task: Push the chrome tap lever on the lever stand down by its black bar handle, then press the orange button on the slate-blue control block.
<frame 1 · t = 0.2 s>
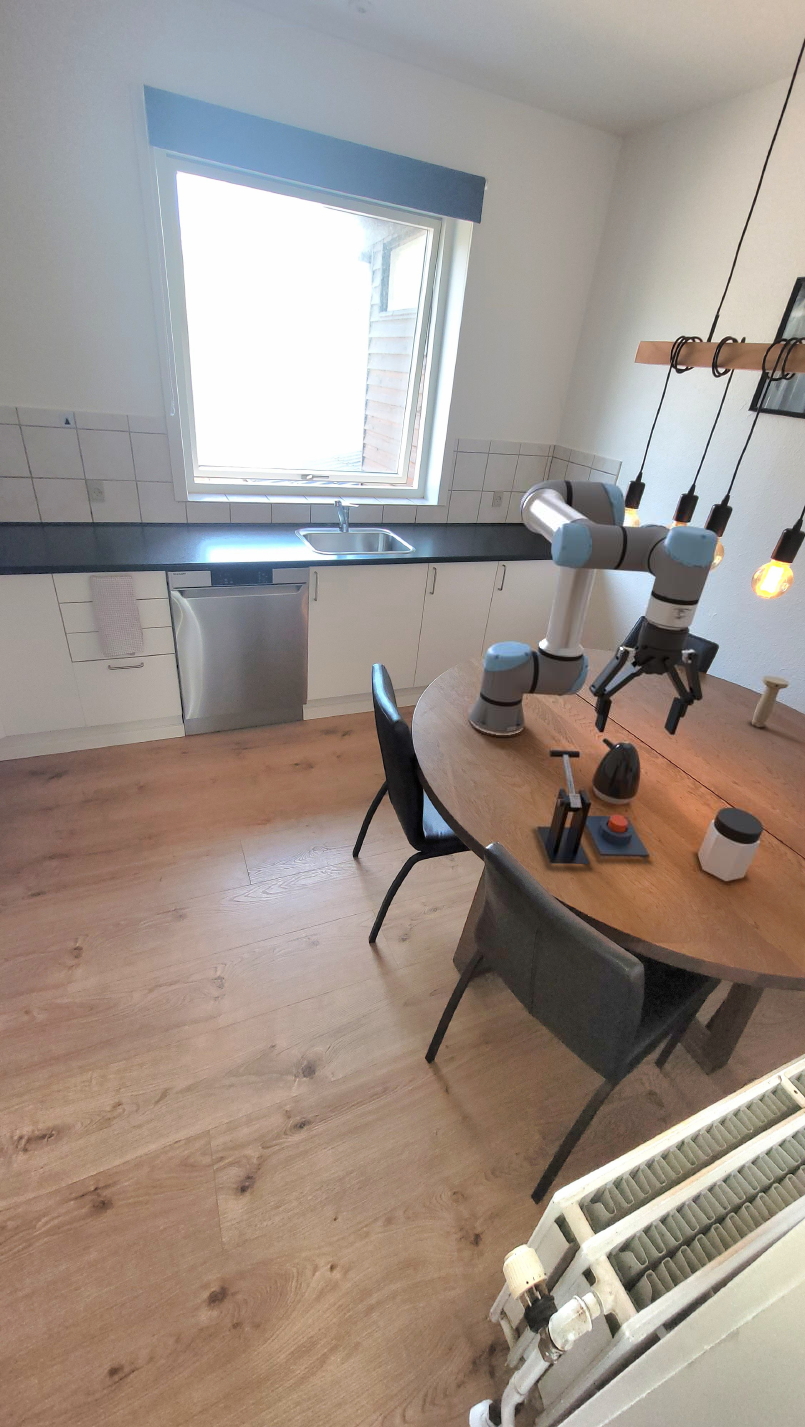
hand: (634, 730, 110), 28 cm above the table, tool pointing down, fingers open, 13 cm apart
handle: (756, 725, 175), on the table
button block: (612, 840, 124), on the table
button: (617, 824, 122), point 5 cm above the table, slide at 0.1 cm
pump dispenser: (610, 798, 138), on the table
lever stand: (561, 849, 121), on the table
jar: (719, 867, 120), on the table
tap lever: (569, 779, 118), point 14 cm above the table, hinge at 28.0°
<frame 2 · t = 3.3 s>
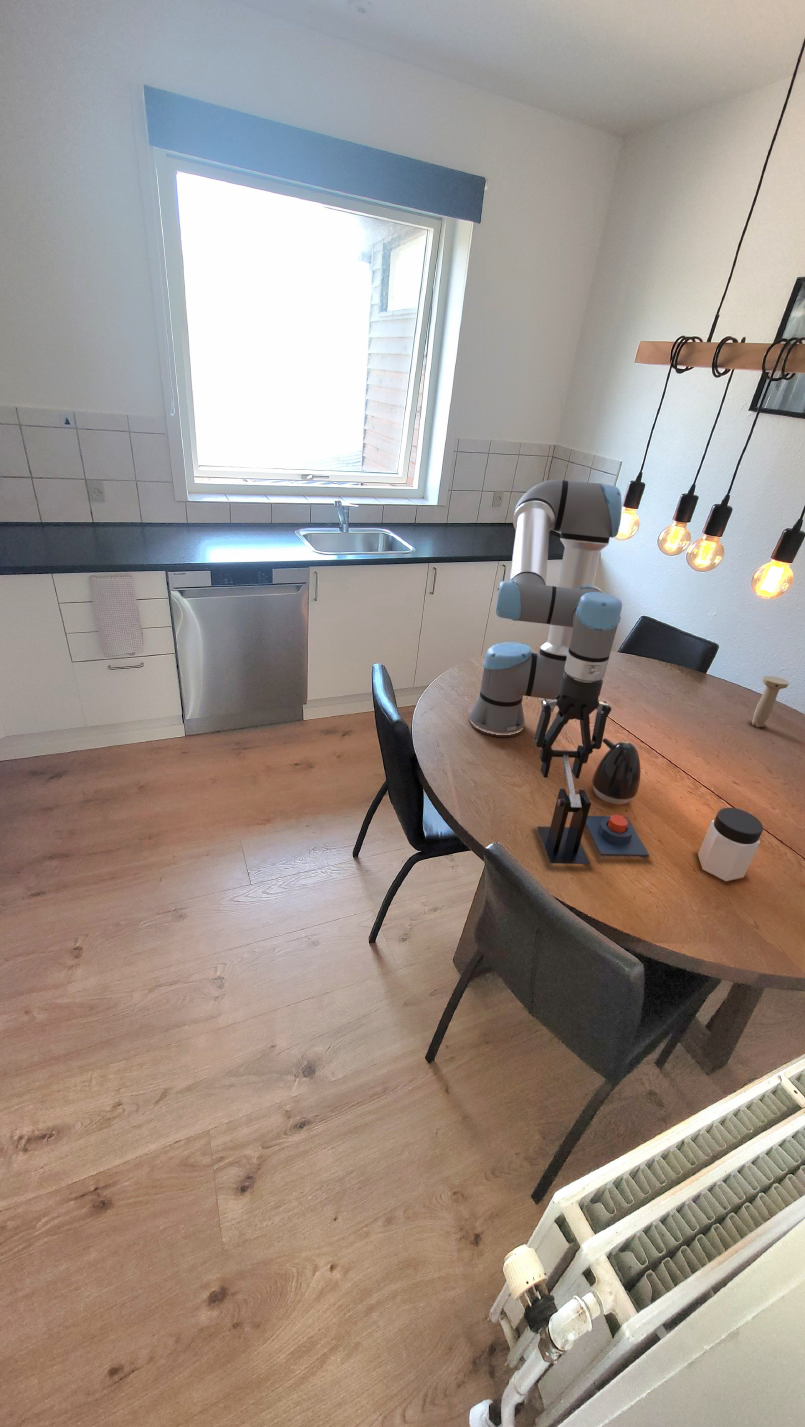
hand: (559, 774, 123), 12 cm above the table, tool pointing down, fingers closed on tap lever, 6 cm apart
tap lever: (569, 779, 118), point 14 cm above the table, hinge at 28.0°, touching gripper
everything else where it was.
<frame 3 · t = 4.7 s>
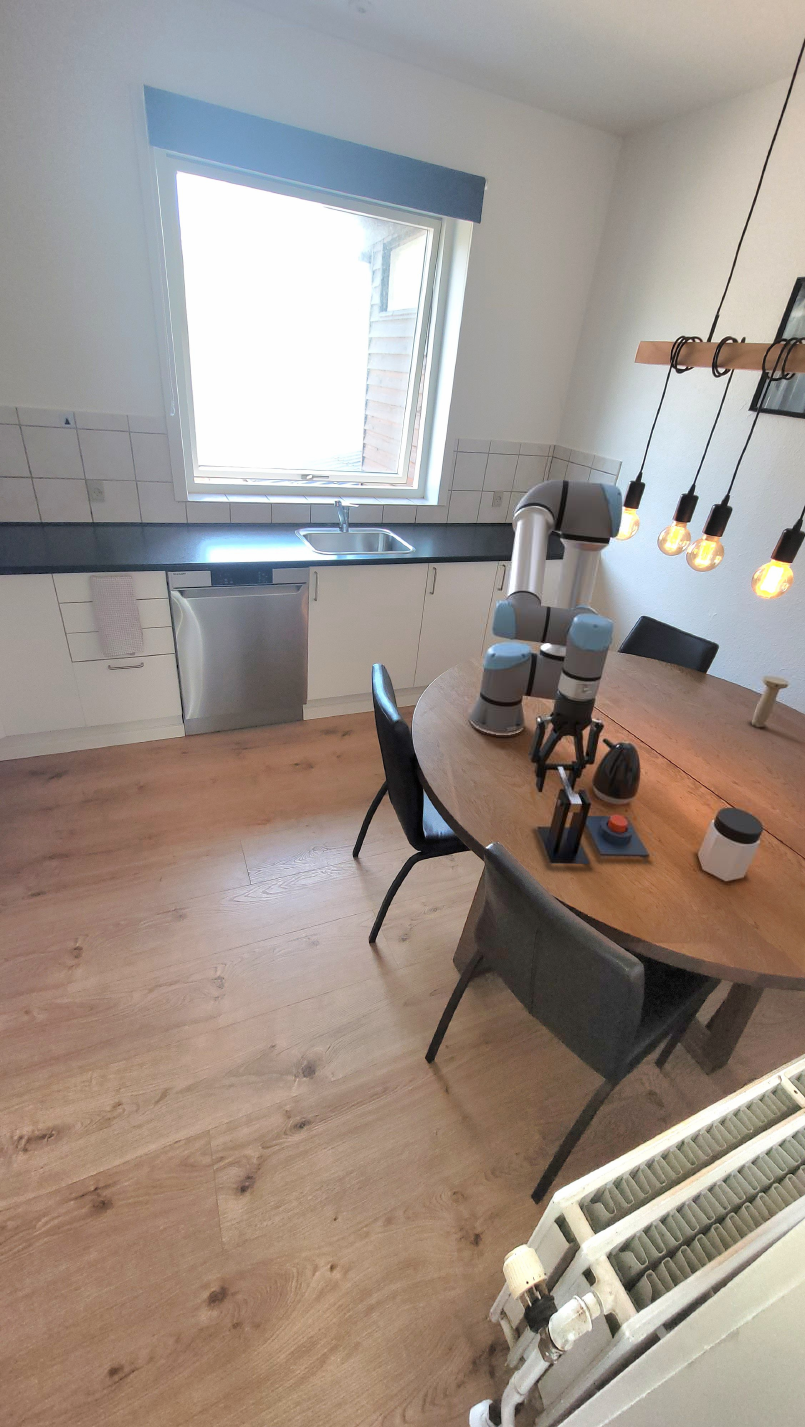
hand: (554, 788, 127), 8 cm above the table, tool pointing down, fingers closed on tap lever, 6 cm apart
tap lever: (566, 785, 119), point 12 cm above the table, hinge at 5.3°, touching gripper
everything else where it was.
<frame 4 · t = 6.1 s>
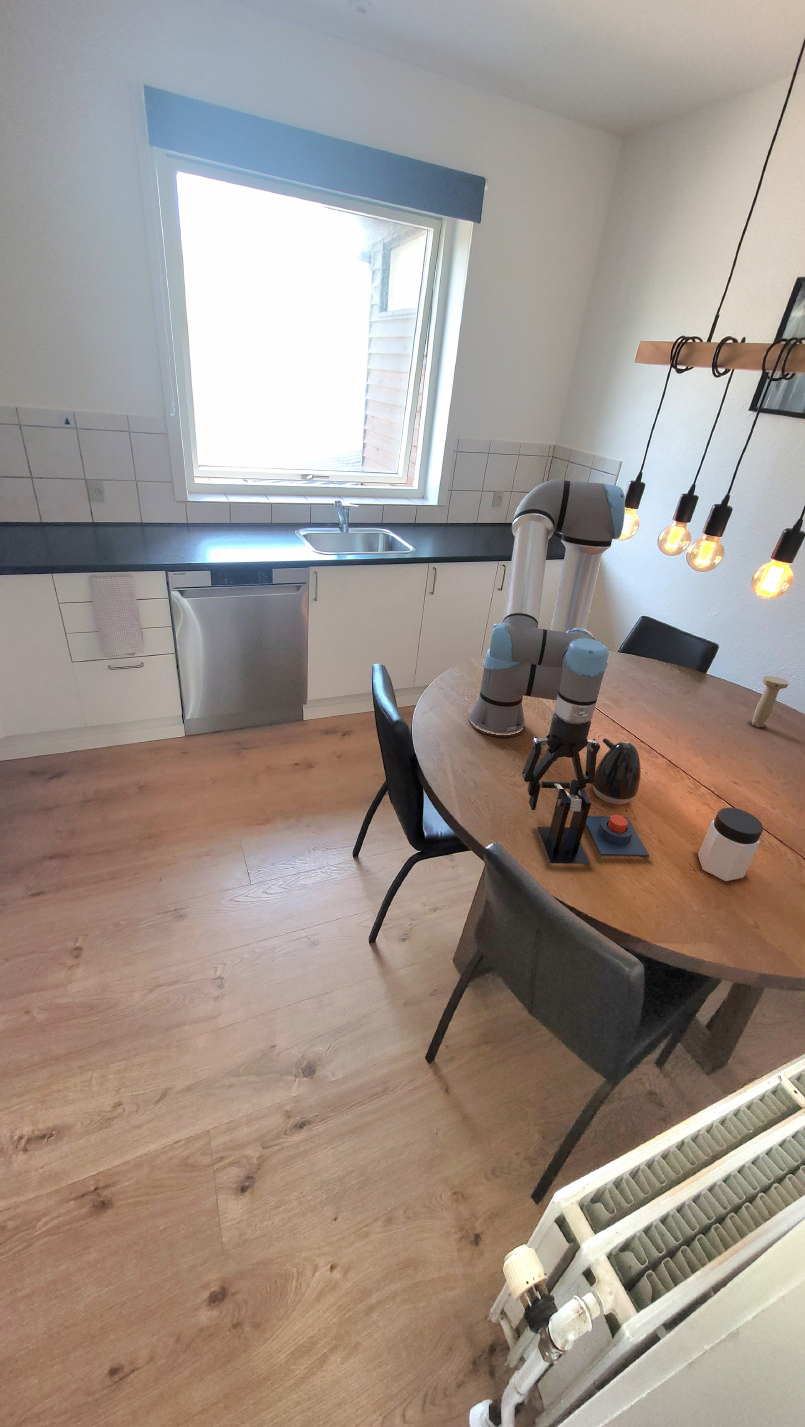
hand: (550, 806, 128), 3 cm above the table, tool pointing down, fingers open, 8 cm apart
tap lever: (564, 794, 120), point 10 cm above the table, hinge at -17.6°
everything else where it was.
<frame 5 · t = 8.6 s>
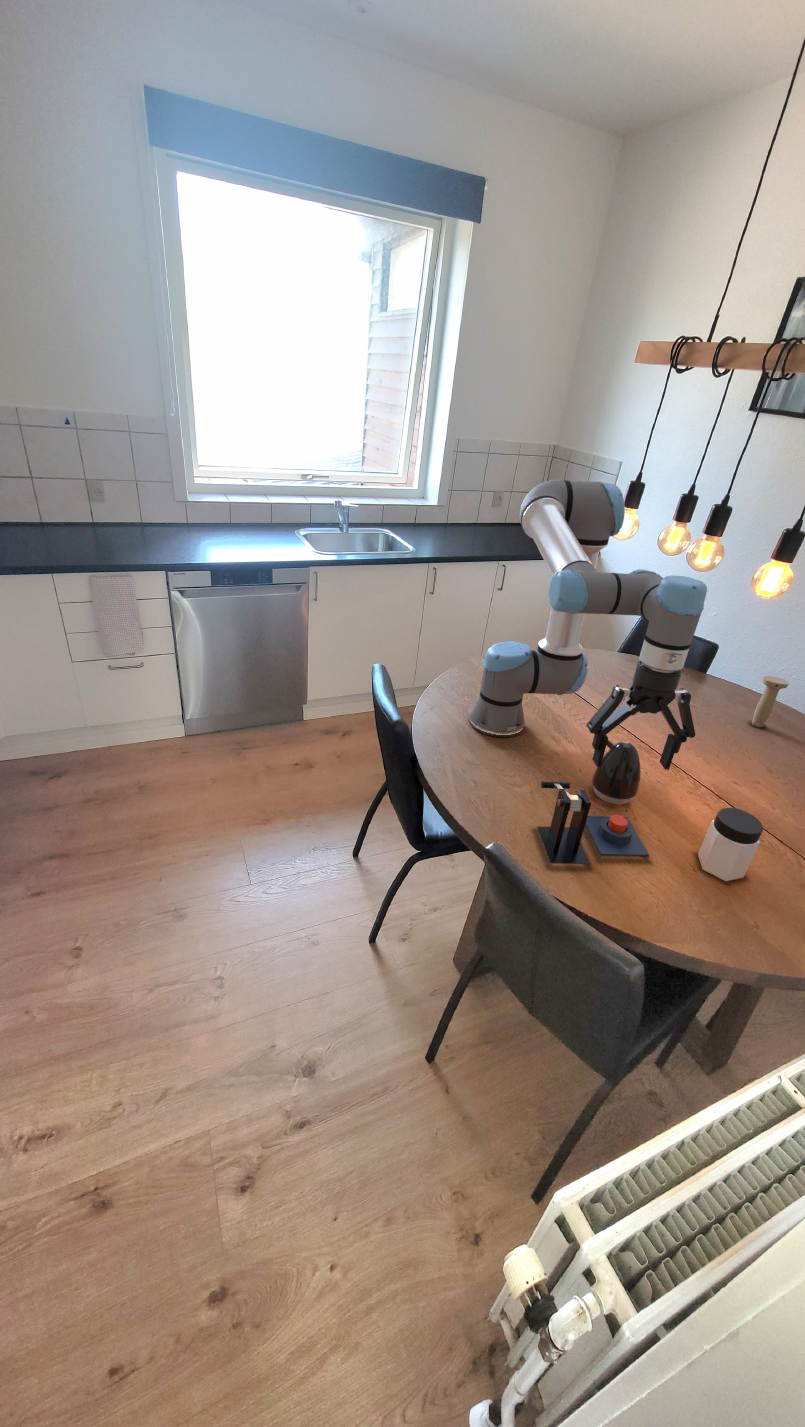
hand: (630, 764, 115), 19 cm above the table, tool pointing down, fingers open, 13 cm apart
nothing on the table moved.
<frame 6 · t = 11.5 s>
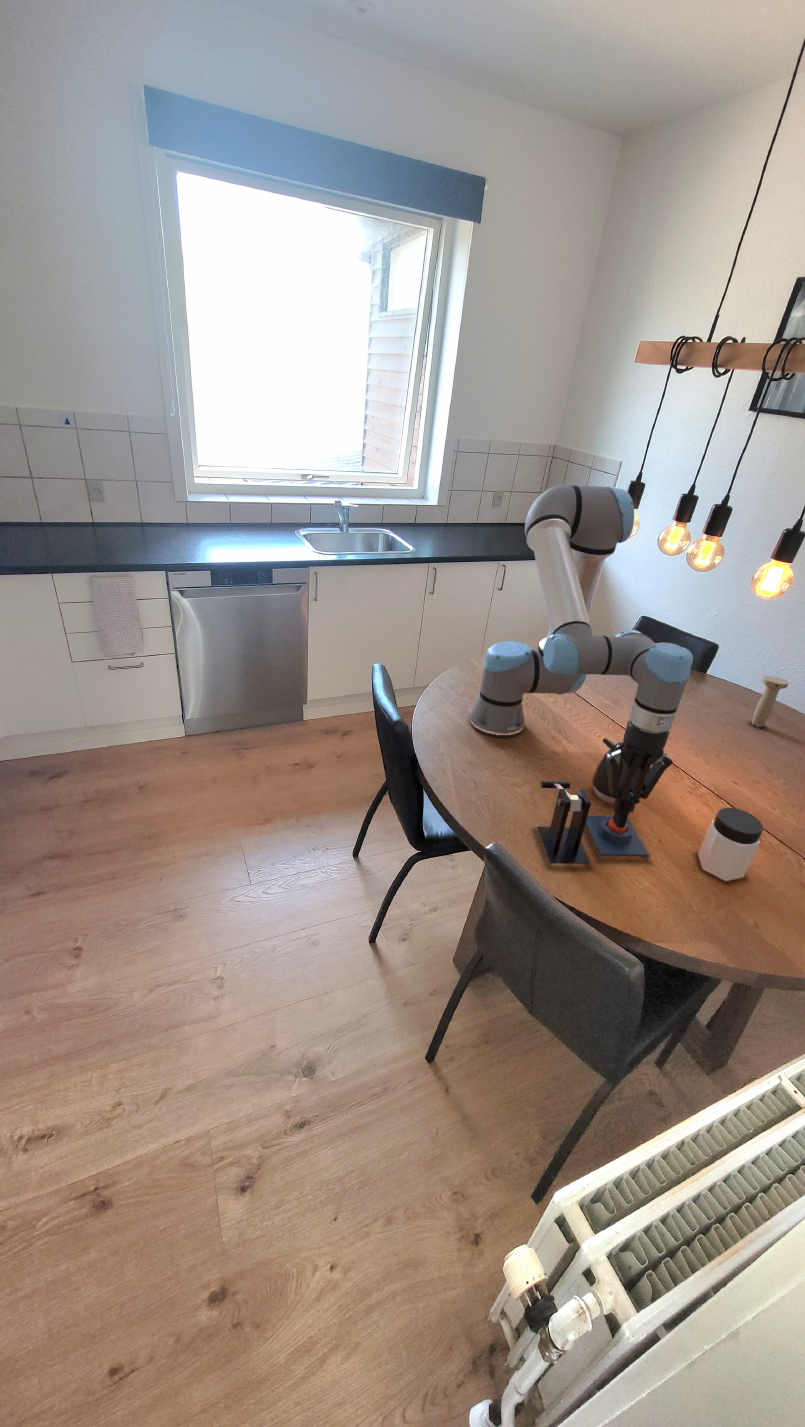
hand: (618, 823, 122), 5 cm above the table, tool pointing down, fingers closed
button: (616, 827, 123), point 4 cm above the table, slide at -0.9 cm, touching gripper
everything else where it was.
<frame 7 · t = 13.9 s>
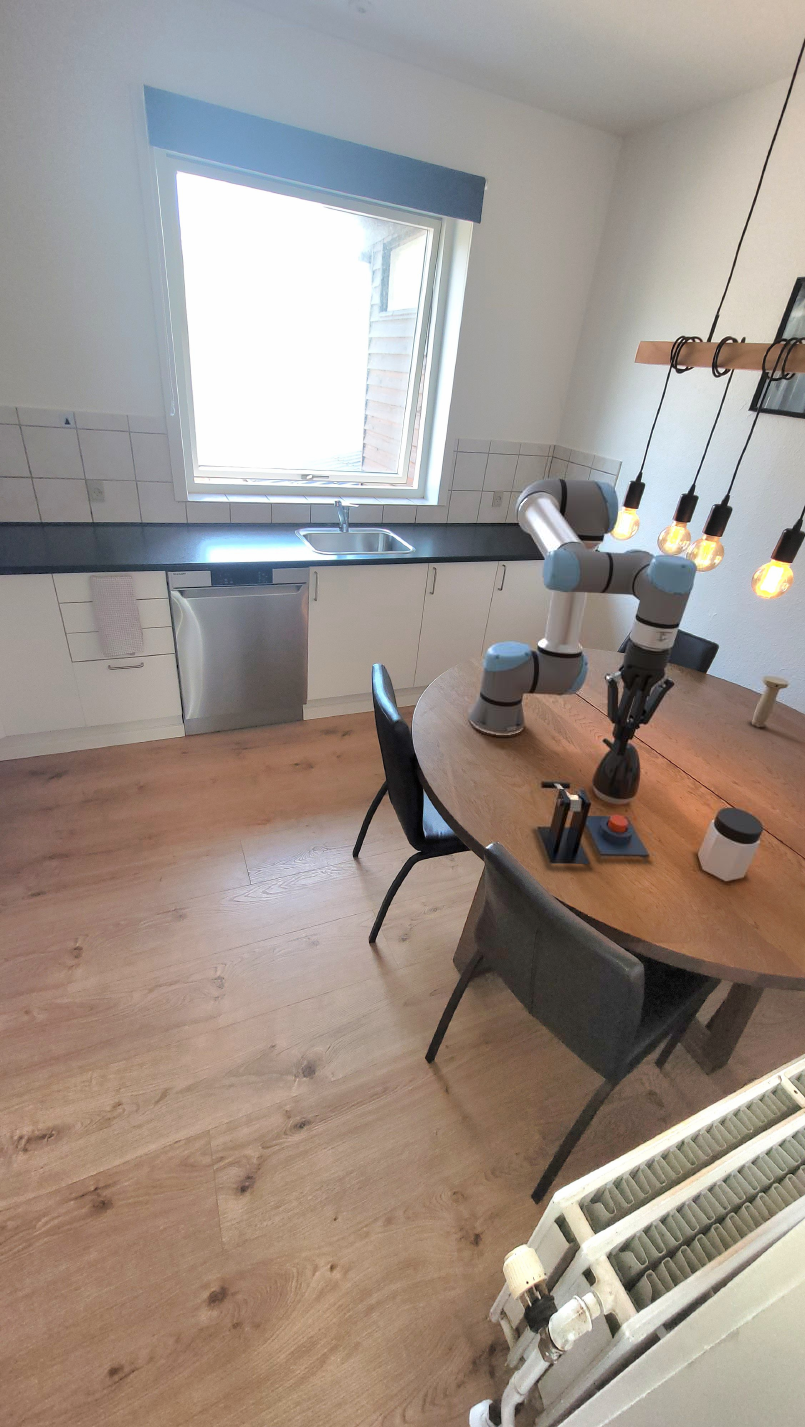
hand: (617, 751, 118), 20 cm above the table, tool pointing down, fingers closed
button: (617, 824, 122), point 5 cm above the table, slide at 0.1 cm
everything else where it was.
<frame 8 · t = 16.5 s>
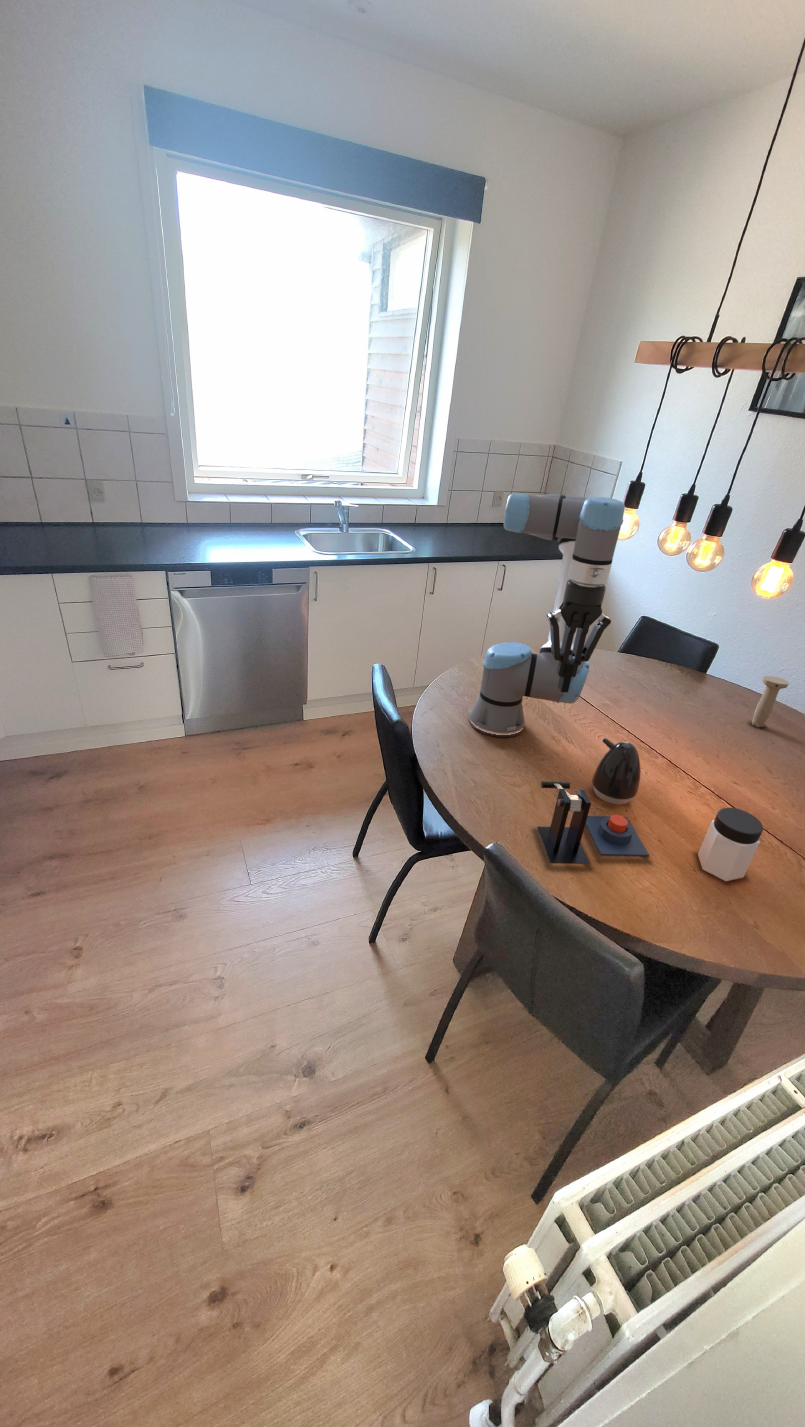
hand: (562, 689, 126), 26 cm above the table, tool pointing down, fingers closed
nothing on the table moved.
at the end: tap lever at -18° (first picture: +28°); button pushed in 1.4 cm at the most during the clip, back to where it started at the end; button slide at 0.1 cm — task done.
